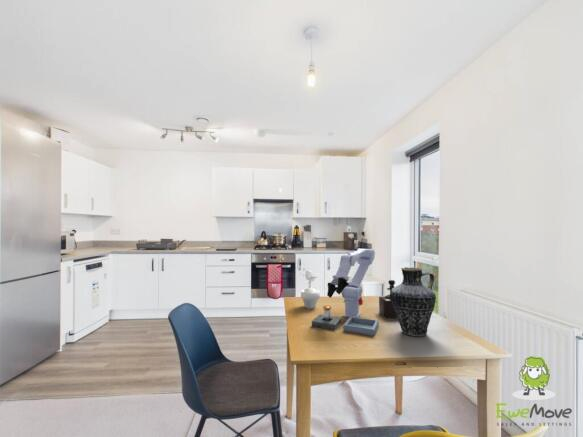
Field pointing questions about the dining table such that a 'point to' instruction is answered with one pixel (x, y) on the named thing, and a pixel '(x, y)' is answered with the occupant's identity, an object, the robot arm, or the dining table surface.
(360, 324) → the tray
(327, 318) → the pin
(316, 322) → the grey square frame
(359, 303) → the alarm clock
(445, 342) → the dining table surface
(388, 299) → the dark piece
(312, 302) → the potted plant
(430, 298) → the jug
